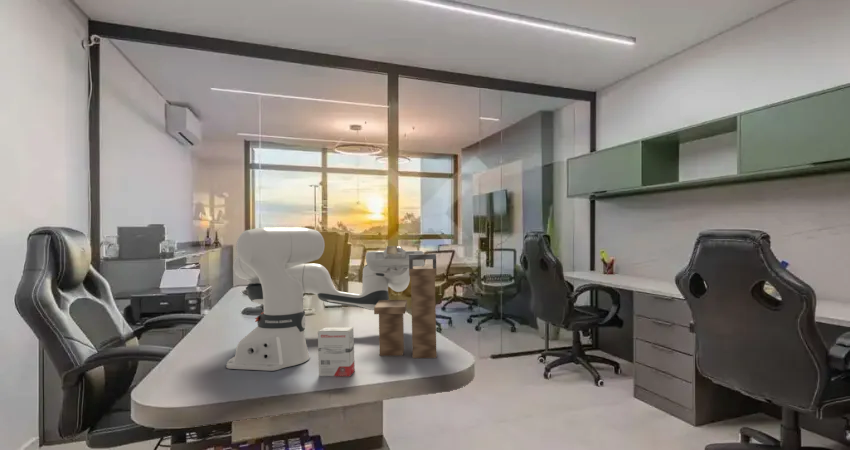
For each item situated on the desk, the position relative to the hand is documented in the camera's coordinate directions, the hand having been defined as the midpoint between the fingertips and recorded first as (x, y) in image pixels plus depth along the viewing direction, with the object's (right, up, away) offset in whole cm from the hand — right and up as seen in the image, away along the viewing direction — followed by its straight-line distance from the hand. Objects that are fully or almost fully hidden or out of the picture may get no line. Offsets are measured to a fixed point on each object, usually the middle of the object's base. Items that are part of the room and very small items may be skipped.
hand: (393, 248), depth 139 cm
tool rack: (+5, -31, -12) cm, 34 cm away
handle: (0, -1, -4) cm, 4 cm away
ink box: (-13, -31, -30) cm, 45 cm away
